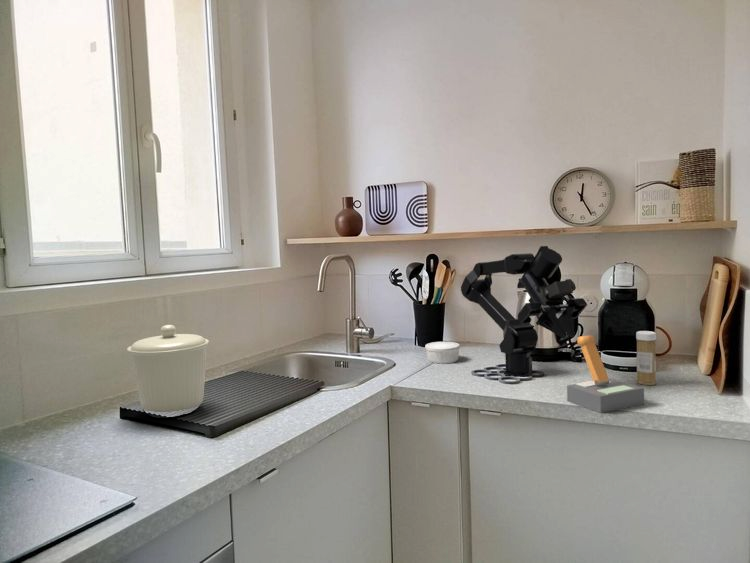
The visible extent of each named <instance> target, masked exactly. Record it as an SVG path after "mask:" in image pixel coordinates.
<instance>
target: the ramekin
mask: <svg viewBox="0 0 750 563" xmlns="http://www.w3.org/2000/svg"><path fill="white" fill-rule="evenodd" d="M424 347H425V350H426V351H425V352H426V355H427V359H428V362H431V363H433V364H439V365H441V364H453V363H455V362H457V361H458V360H459V354H460V348H461V345H460V343H457V342H453V341H434V342H433V341H432V342H429V343H426V344H425V346H424Z"/></svg>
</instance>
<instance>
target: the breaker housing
mask: <svg viewBox="0 0 750 563" xmlns="http://www.w3.org/2000/svg"><path fill="white" fill-rule="evenodd" d="M608 378H609V377H608ZM566 401H567V402H569V403H571V404H573V405H577V406H580V407H583V408H585V409H589V410H591V411H593V412H597V413H599V414H603V413H607V412H612V411H617V410H622V409H628V408H632V407H631V406H633V407H637V406H642V405H645V388H644V387H641V386H638V385H633V384H630V383H627V382H624V381H619V380H616V379H613V378H609V384H606V385H600V386H596V385H595V383H594V381H593V380H587V381H583V382H577V383H573V384H568V385H566ZM641 404H642V405H641ZM636 405H637V406H636ZM627 407H628V408H627Z"/></svg>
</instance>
